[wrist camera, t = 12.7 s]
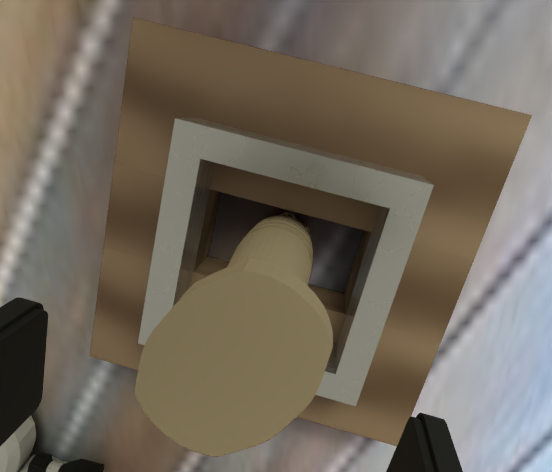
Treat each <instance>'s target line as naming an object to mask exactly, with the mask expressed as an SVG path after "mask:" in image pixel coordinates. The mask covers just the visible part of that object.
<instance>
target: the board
mask: <svg viewBox="0 0 552 472" xmlns="http://www.w3.org/2000/svg"><path fill="white" fill-rule="evenodd" d="M531 116H532V115H528V114H524V113H520V112H516V111H512V110H508V109H504V108H500V107H496V106H492V105H488V104H484V103H479V102H475V101H471V100H467V99H463V98H459V97H455V96H451V95H447V94H443V93H439V92H435V91H431V90H427V89H422V88H418V87H414V86H410V85H406V84H402V83H398V82H394V81H390V80H386V79H382V78H378V77H374V76H370V75H365V74H361V73H357V72H353V71H349V70H345V69H341V68H337V67H333V66H329V65H325V64H321V63H317V62H313V61H309V60H304V59H300V58H296V57H292V56H288V55H284V54H280V53H276V52H272V51H268V50H264V49H260V48H256V47H252V46H247V45H243V44H239V43H235V42H231V41H227V40H223V39H219V38H215V37H211V36H207V35H203V34H199V33H195V32H191V31H186V30H182V29H178V28H174V27H170V26H166V25H162V24H158V23H154V22H150V21H146V20H142V19H138V18H134V17H133V22H132V30H131V37H130V45H129V53H128V61H127V69H126V76H125V84H124V92H123V100H122V107H121V115H120V123H119V131H118V139H117V146H116V154H115V162H114V170H113V178H112V185H111V193H110V201H109V209H108V217H107V224H106V232H105V240H104V248H103V256H102V263H101V271H100V279H99V287H98V295H97V302H96V310H95V318H94V326H93V334H92V341H91V349H90V356H91V357H94V358H98V359H101V360H104V361H108V362H111V363H115V364H118V365H121V366H125V367H128V368H132V369H135V370H138V368H139V363H140V359H141V354H142V351H143V348H144V346H145V345H142V344H139V343H138V340H139V334H140V327H141V321H142V315H143V309H144V303H145V297H146V291H147V285H148V279H149V273H150V267H151V261H152V255H153V249H154V243H155V236H156V230H157V224H158V218H159V212H160V206H161V200H162V194H163V188H164V182H165V176H166V170H167V164H168V158H169V151H170V145H171V139H172V133H173V127H174V121H175V118H199V119H203V120H207V121H210V122H214V123H218V124H222V125H226V126H230V127H234V128H238V129H242V130H245V131H249V132H253V133H257V134H261V135H265V136H269V137H273V138H277V139H280V140H284V141H288V142H292V143H296V144H300V145H304V146H308V147H312V148H315V149H319V150H323V151H327V152H331V153H335V154H339V155H343V156H347V157H350V158H354V159H358V160H362V161H366V162H370V163H374V164H378V165H382V166H385V167H389V168H393V169H397V170H401V171H405V172H409V173H413V174H417V175H420V176H422V177H424V178H425V179H426V180H428V181H429V182H430V183H432V184H433V185H434V186H433V189H432V192H431V195H430V198H429V200H428V203H427V206H426V209H425V212H424V215H423V217H422V220H421V223H420V226H419V229H418V232H417V234H416V237H415V240H414V243H413V246H412V249H411V251H410V254H409V257H408V260H407V263H406V266H405V268H404V271H403V274H402V277H401V280H400V283H399V285H398V288H397V291H396V294H395V297H394V300H393V302H392V305H391V308H390V311H389V314H388V317H387V319H386V322H385V325H384V328H383V331H382V334H381V336H380V339H379V342H378V345H377V348H376V351H375V353H374V356H373V359H372V362H371V365H370V368H369V370H368V373H367V376H366V379H365V382H364V385H363V387H362V390H361V393H360V396H359V399H358V402H357V404H356V406H353V405H349V404H346V403H342V402H339V401H335V400H332V399H328V398H325V397H322V396H318V395H315V396H314V398H313V400H312V401H311V402H310V403H309V404H308V406H307V407H306V408H305V409H304V410H303V411H302V412H301V413H300V414H299V415H298V416H297V417H299V418H302V419H306V420H309V421H312V422H316V423H319V424H323V425H326V426H329V427H333V428H336V429H340V430H343V431H347V432H350V433H353V434H357V435H360V436H364V437H367V438H370V439H374V440H377V441H381V442H384V443H387V444H391V445H394V446H397V445H398V443H399V440H400V438H401V435H402V433H403V431H404V428H405V426H406V423H407V421H408V419H409V418H410V417H411V415H412V412H413V410H414V407H415V405H416V403H417V400H418V398H419V395H420V393H421V390H422V388H423V385H424V383H425V380H426V378H427V375H428V373H429V370H430V368H431V365H432V363H433V360H434V358H435V355H436V353H437V350H438V348H439V345H440V343H441V340H442V338H443V335H444V333H445V330H446V328H447V325H448V323H449V320H450V318H451V315H452V313H453V310H454V308H455V305H456V303H457V300H458V298H459V295H460V293H461V290H462V288H463V285H464V283H465V280H466V278H467V275H468V273H469V271H470V268H471V266H472V263H473V261H474V258H475V256H476V253H477V251H478V248H479V246H480V243H481V241H482V238H483V236H484V233H485V231H486V228H487V226H488V223H489V221H490V218H491V216H492V213H493V211H494V208H495V206H496V203H497V201H498V198H499V196H500V193H501V191H502V188H503V186H504V183H505V181H506V178H507V176H508V173H509V171H510V168H511V166H512V163H513V161H514V158H515V156H516V153H517V151H518V148H519V146H520V144H521V141H522V139H523V136H524V134H525V131H526V129H527V126H528V124H529V121H530V119H531ZM221 192H222V193H226V194H230V195H234V196H237V197H241V198H245V199H249V200H252V201H256V202H260V203H264V204H267V205H271V206H275V207H279V208H282V209H286V210H290V211H294V212H297V213H301V214H305V215H309V216H312V217H316V218H320V219H324V220H327V221H331V222H335V223H339V224H342V225H346V226H350V227H354V228H357V229H361V230H364V232H363V235H362V238H361V242H360V245H359V248H358V251H357V254H356V257H355V261H354V264H353V267H352V270H351V273H350V277H349V280H348V283H347V286H346V289H345V292H344V293H340V292H337V291H333V290H329V289H326V288H322V287H319V286H315V285H311V284H308V287H309V288H310V289H311V290H312V291H313V292H314V293H315V294H316V295H317V297H318V298H319V300H320V301H321V302H322V304H323V305H324V307H325V309H326V312H327V314H328V316H329V319H330V323H331V327H332V331H333V344H335V345H336V342H337V339H338V336H339V333H340V329H341V326H342V323H343V320H344V317H345V314H346V311H347V308H348V304H349V301H350V298H351V295H352V292H353V289H354V286H355V283H356V279H357V276H358V273H359V270H360V267H361V264H362V261H363V258H364V254H365V251H366V248H367V245H368V242H369V239H370V236H371V232H372V229H373V226H374V223H375V220H376V217H377V214H378V211H379V207H380V206H379V205H375V204H371V203H367V202H363V201H360V200H356V199H352V198H348V197H344V196H341V195H337V194H333V193H329V192H325V191H322V190H318V189H314V188H310V187H306V186H303V185H299V184H295V183H291V182H287V181H283V180H280V179H276V178H272V177H268V176H264V175H261V174H257V173H253V172H249V171H245V170H242V169H238V168H234V167H230V166H226V165H223V164H219V163H215V165H214V170H213V176H212V181H211V186H210V191H209V196H208V201H207V206H206V211H205V216H204V221H203V226H202V231H201V236H200V241H199V247H198V252H197V257H196V262H195V267H194V272H193V277H192V282H191V286H192V285H193V284H194V283H195V282H197V281H199V280H201V279H203V278H205V277H207V276H209V275H211V274H213V273H215V272H218V271H220V270H222V269H224V268H227V266H228V264H229V262H228V261H224V260H220V259H217V258H213V257H210V256H208V253H209V248H210V243H211V238H212V233H213V228H214V224H215V219H216V214H217V209H218V204H219V199H220V194H221Z"/></svg>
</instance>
